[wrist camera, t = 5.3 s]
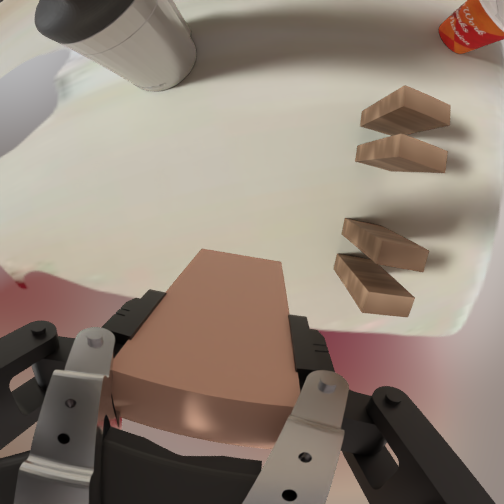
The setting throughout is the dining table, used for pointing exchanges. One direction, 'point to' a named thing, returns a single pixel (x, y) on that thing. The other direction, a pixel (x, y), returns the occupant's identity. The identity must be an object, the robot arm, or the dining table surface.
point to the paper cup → (473, 25)
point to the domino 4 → (385, 245)
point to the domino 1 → (213, 355)
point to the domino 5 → (373, 287)
